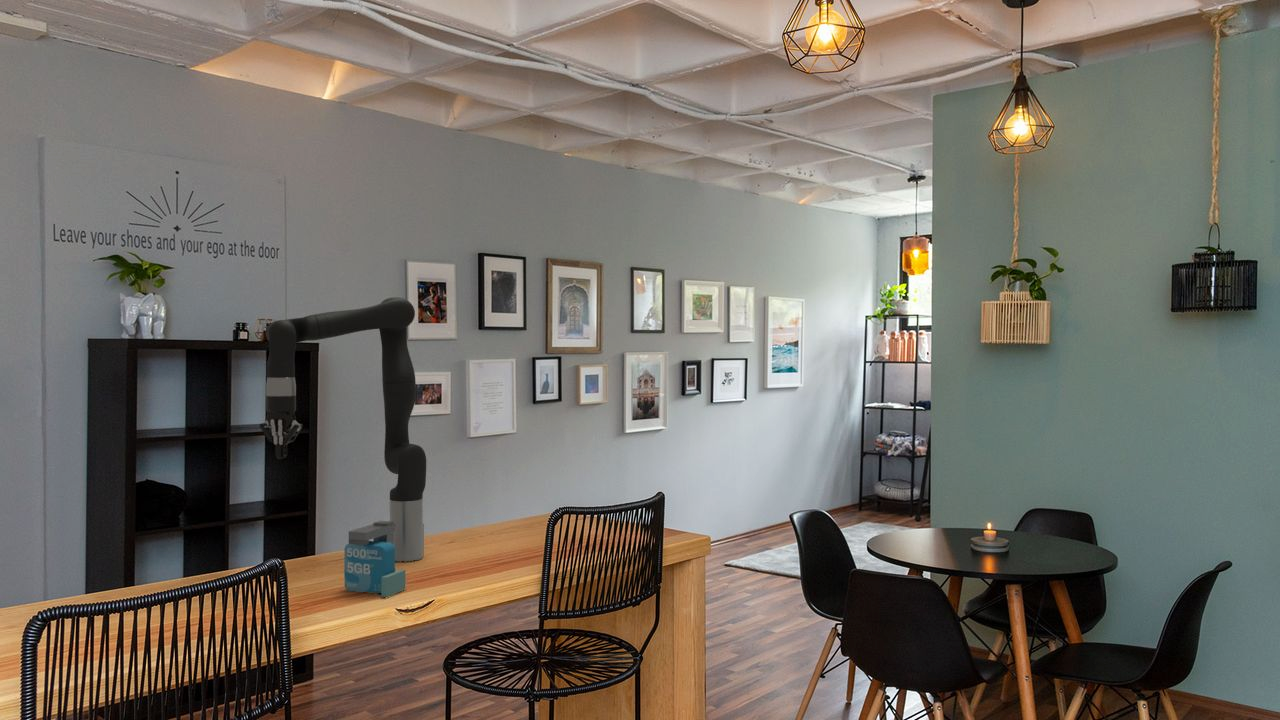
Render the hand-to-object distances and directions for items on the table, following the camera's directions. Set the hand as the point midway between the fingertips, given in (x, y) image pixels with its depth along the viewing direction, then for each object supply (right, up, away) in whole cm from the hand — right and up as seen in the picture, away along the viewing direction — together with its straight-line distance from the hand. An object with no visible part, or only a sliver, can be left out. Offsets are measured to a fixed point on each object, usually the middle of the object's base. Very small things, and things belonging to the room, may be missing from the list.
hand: (281, 458), depth 252 cm
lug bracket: (+29, -31, -15) cm, 46 cm away
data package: (+29, -32, -18) cm, 46 cm away
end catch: (+36, -31, -21) cm, 52 cm away
